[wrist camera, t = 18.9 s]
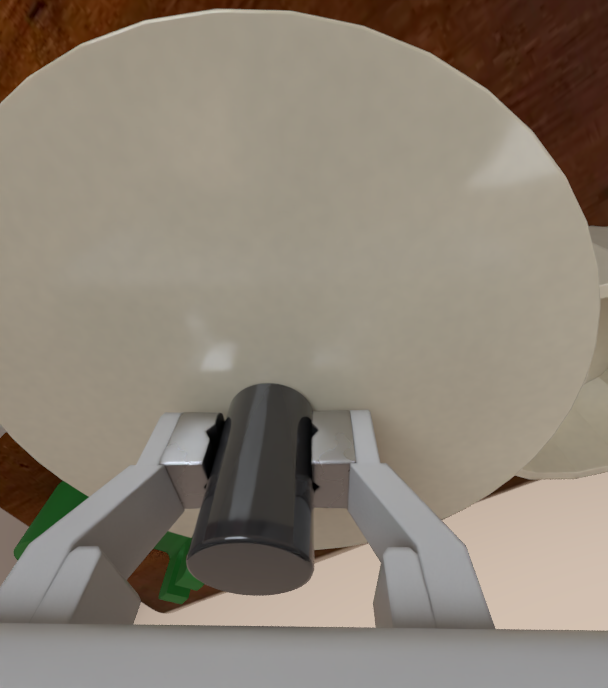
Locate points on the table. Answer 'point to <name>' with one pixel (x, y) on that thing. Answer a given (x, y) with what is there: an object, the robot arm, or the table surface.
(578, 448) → the cream bowl
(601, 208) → the table surface
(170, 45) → the lid
